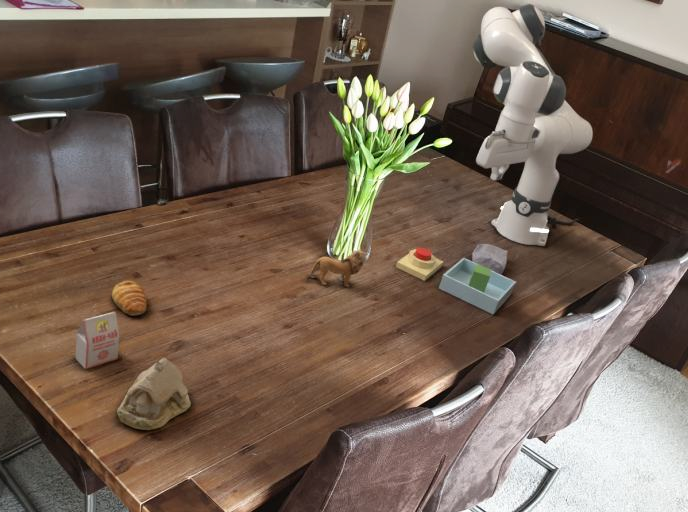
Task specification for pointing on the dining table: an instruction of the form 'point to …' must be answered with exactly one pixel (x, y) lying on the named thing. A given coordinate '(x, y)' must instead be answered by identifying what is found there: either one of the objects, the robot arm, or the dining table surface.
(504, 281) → the basin
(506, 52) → the robot arm
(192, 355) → the dining table surface
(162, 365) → the ceramic model
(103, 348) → the tea bag
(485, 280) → the green block
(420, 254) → the button
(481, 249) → the stone block
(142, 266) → the dining table surface
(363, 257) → the lion figurine
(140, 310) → the pastry
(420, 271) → the button housing
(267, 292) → the dining table surface
